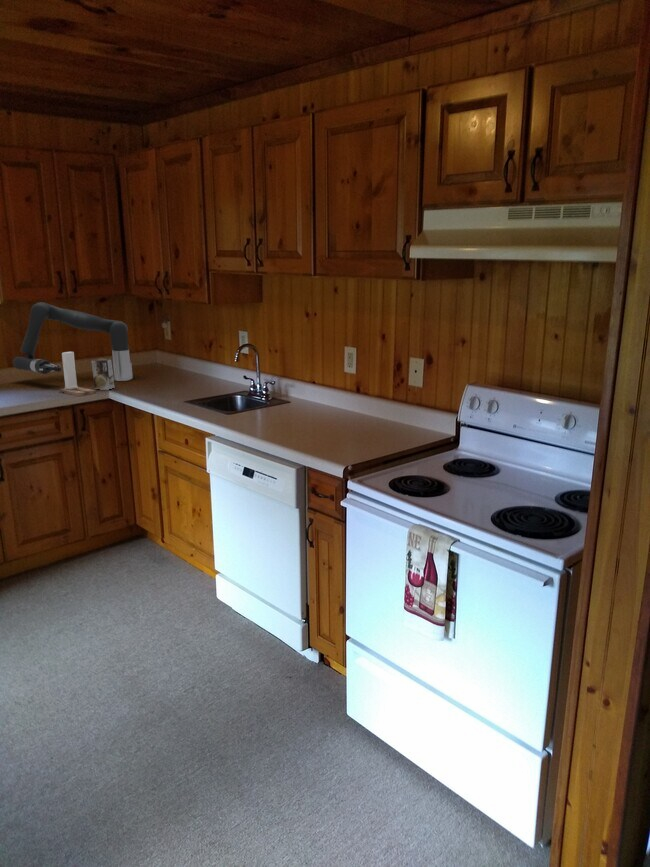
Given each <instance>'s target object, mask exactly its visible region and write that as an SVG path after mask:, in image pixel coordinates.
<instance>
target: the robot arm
mask: <svg viewBox="0 0 650 867" xmlns="http://www.w3.org/2000/svg"><path fill="white" fill-rule="evenodd" d="M29 313H30V316H29V322H28V326H27V329H26V333H25V336H24V339H23V341H22V344H21V348H20V352H21V353H22V354H24V355H26V357H25V356H24V357H23V356H16V357H14V359H13V360H12V365H13V367H14V368H15V369H16V370H23V371H30V372H33V373H37V374H43V375H48V374H49V373H51V372H61V371H62V368H61V364H60V363H58V364H53V363H51V361H49V360H47V359H41V358H35V351H36V349H37V345H38V342H39V335H40V332H41V328H42V326H43V323H44V322H45V320H52V321H57V322H60V323H63V324H65V325H68V326H70V327H71V328H72V327H73V328H76V329H81V330H84V331H94V332H103V333H108V334H109V336H110V345H111V351H112V352H111V353H112V364H113V375H114V381H117V382H125V381H130V380H133V378H134V376H133V366H132V362H131V358H130V346H129V341H128V340H129V339H128V332H129V328H128V325H127V324H126V323H125V322H123V321H122V320H115V319H107V318H102V317H100V316H98V315H93V314H89V313H87V312H83V311H77V310H73V309H70V308H69V309H67V308H62V307H58V306H55V305H53V304H49V303H47V302H41V301H40V302H36V303H35V304H33V305H32V306H31V308H30V312H29Z"/></svg>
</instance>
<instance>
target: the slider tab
mask: <svg viewBox="0 0 650 867" xmlns="http://www.w3.org/2000/svg"><path fill="white" fill-rule="evenodd" d="M61 360H62V366H63V367H62V369H63V377H64V389H74V388H78V387H79V386H78V382H77V372H76V364H75V362H76V361H75V352H74V351H64V352H62V353H61Z"/></svg>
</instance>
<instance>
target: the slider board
mask: <svg viewBox="0 0 650 867" xmlns="http://www.w3.org/2000/svg"><path fill="white" fill-rule="evenodd" d="M58 392H59V393H60V392H64V393H63V394H65V393H70V394H73V395H72V396H76V397H83V396H88V395H92V394H96V393H97V390H94V389H92V388H86V387H81V386H78V388H74V389H65V388H61V389H59V390H58ZM70 394H69V395H70Z"/></svg>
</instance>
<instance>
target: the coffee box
mask: <svg viewBox="0 0 650 867" xmlns="http://www.w3.org/2000/svg"><path fill="white" fill-rule="evenodd" d="M91 369H92V376H93V377H92V378H93V387H94V388H93V390H94V389H100V390H99V391H110V390H109V389H112V388H114V389H115V388H116V387H115V377H114V366H113V358H95V359H92V360H91ZM112 390H113V389H112Z"/></svg>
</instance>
